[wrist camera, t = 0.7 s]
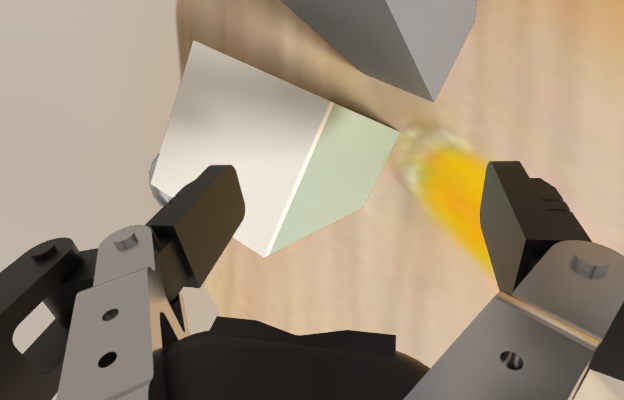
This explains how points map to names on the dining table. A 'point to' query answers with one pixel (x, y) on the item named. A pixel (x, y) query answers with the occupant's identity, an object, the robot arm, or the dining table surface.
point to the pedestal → (270, 148)
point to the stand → (394, 37)
